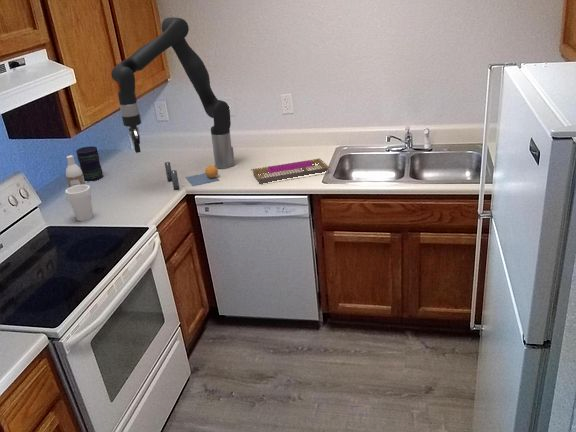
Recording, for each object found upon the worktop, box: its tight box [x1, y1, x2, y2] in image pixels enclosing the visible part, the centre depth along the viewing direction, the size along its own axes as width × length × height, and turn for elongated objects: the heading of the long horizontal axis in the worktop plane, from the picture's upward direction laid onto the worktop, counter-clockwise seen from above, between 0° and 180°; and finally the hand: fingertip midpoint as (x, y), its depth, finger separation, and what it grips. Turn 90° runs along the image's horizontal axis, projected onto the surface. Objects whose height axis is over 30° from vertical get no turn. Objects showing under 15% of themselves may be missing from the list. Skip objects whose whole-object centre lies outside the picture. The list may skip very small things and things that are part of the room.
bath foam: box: [65, 154, 86, 188], centre depth 234 cm, size 7×7×20 cm
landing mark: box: [185, 172, 220, 187], centre depth 250 cm, size 13×13×1 cm
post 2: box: [171, 169, 180, 191], centre depth 238 cm, size 3×3×9 cm
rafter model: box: [250, 158, 331, 185], centre depth 247 cm, size 35×14×6 cm, turn 106°
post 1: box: [164, 161, 172, 182], centre depth 249 cm, size 3×3×9 cm
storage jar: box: [75, 145, 104, 182], centre depth 257 cm, size 10×10×15 cm
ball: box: [204, 164, 219, 178], centre depth 250 cm, size 6×6×6 cm
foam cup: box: [64, 184, 94, 222], centre depth 215 cm, size 10×9×13 cm
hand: (138, 152), depth 233 cm, fingers closed
